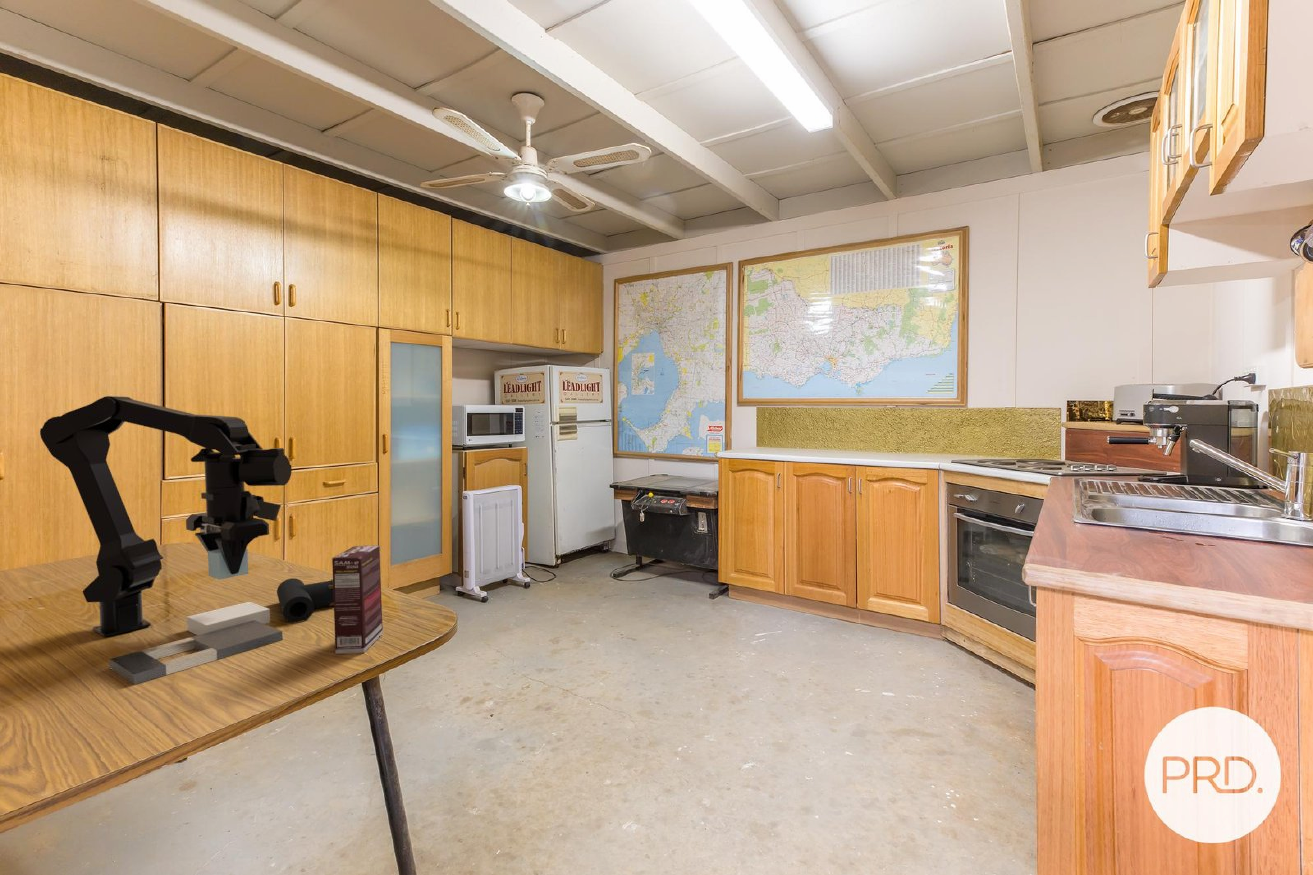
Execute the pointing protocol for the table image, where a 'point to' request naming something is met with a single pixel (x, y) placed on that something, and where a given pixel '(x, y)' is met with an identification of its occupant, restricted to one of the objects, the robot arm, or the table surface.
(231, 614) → the stand
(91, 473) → the robot arm
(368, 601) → the supplement box
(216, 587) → the table surface
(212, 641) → the plate
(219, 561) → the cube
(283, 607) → the pipe connector
